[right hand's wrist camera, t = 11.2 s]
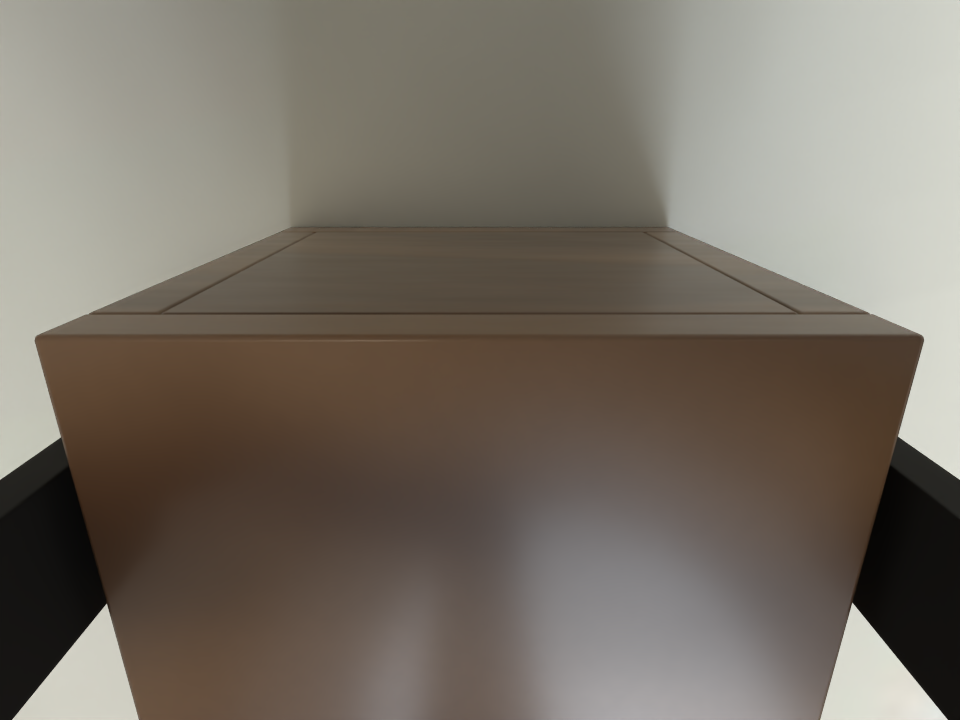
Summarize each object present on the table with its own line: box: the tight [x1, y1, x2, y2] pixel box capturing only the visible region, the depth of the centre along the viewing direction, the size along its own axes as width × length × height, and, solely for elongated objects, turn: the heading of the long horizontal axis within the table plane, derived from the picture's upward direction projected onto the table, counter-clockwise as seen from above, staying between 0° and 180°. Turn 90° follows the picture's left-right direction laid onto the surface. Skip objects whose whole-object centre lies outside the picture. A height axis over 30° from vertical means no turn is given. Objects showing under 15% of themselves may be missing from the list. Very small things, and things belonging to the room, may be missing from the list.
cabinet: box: [35, 227, 924, 720], centre depth 16 cm, size 19×12×11 cm, turn 0°
